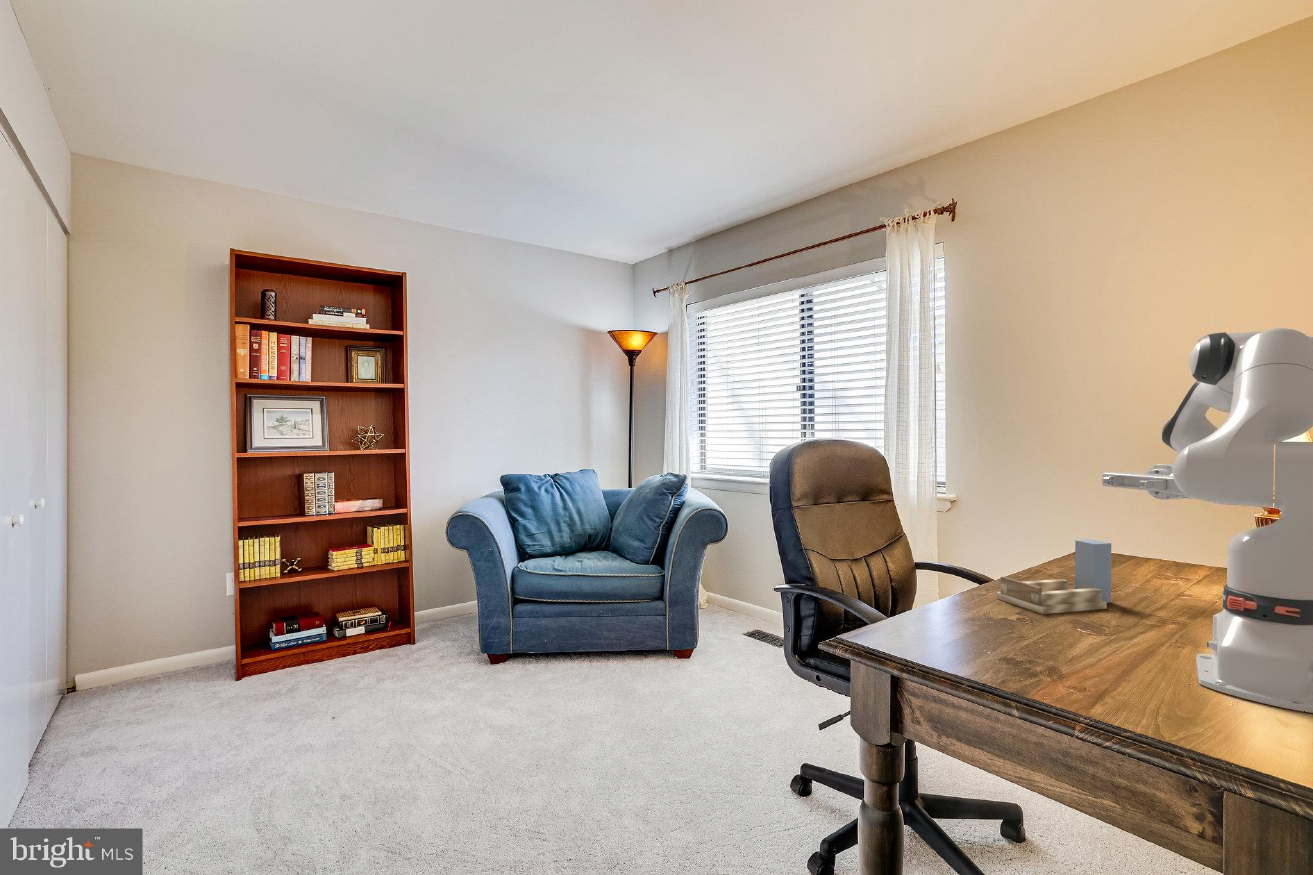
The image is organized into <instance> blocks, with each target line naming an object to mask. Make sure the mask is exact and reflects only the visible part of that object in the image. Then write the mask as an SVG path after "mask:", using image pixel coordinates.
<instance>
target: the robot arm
mask: <svg viewBox="0 0 1313 875" xmlns="http://www.w3.org/2000/svg"><path fill="white" fill-rule="evenodd" d="M1188 360H1189V361H1188V364H1189V369H1190V371H1191V376H1192V377H1193V378H1194V379H1195V380H1196V381H1195V382H1194V383H1193V384H1192V386H1191V387H1190V388H1189V390H1188V391H1187V393H1186V394H1185V396H1184V398H1183V399H1182V401H1181V403H1180V405H1179V406H1178V408H1177V409H1176V411H1175V413H1174V414H1173V415H1172V417H1171V418H1170V419H1168V421H1167V422H1166V423H1165V424H1164V426H1163V428H1162V431H1161V440H1162V442H1163V443H1164V444H1165V445H1166V446H1168V447H1169V448H1170V449H1172V450H1174V451H1175V452H1177V455H1176V457H1175V459H1174V461H1173V463H1160V464H1159V463H1158V464H1155V465H1153V466H1151V467H1149V468H1148V469H1147V471H1146V472H1145V473H1141V472H1140V473H1138V472H1126V471H1125V472H1121V471H1111V472H1110V471H1108V472H1107V471H1105V472H1103V473H1102V474H1101V483H1102V484H1101V485H1102V486H1103V487H1106V488H1118V489H1130V490H1138V491H1147V493H1148V494H1149V495H1151V496H1152V497H1154V498H1155V499H1157V500H1163V501H1167V500H1183V499H1187V500H1193V499H1194V500H1199V501H1202V502H1206V503H1207V502H1208V503H1213V504H1218V505H1226V506H1239V507H1240V506H1241V507H1255V508H1257V507H1258V508H1274V509H1275V510H1279V511H1280V514H1281V515H1280V517H1279V518H1278V519H1277V520H1276V521H1274V522H1272V523H1270V524H1266V525H1262V526H1258V527H1255V528H1251V529H1248V530H1246V531H1243V532H1240V533H1238V534H1237V535H1235V536H1234V537H1232V538H1231V540H1230V541H1229V542H1228V545H1227V555H1226V556H1227V557H1226V558H1227V560H1226V562H1227V564H1226V565H1227V567H1226V568H1227V570H1226V574H1227V576H1226V584H1225V585H1223V592H1222V595H1221V596H1222V597H1221V598H1222V608H1223V610H1221V611H1219V612H1217V613H1216V614H1213V618H1212V619H1213V620H1212V623H1213V624H1212V641H1211V640H1208V642H1206V644H1207V645H1206V647H1207V648H1208V650H1212V654H1211V653H1197V654H1196V657H1195V663H1196V670H1197V671H1196V672H1197V678H1198V683H1199V684H1200V685H1202V686H1204V687H1206V688H1209V689H1211V690H1214V691H1217V692H1220V693H1224V694H1227V695H1230V696H1233V697H1236V698H1237V697H1238V698H1242V699H1245V700H1250V701H1252V702H1257V703H1261V704H1265V705H1270V706H1275V707H1279V708H1283V709H1288V710H1293V711H1298V712H1304V711H1305V713H1312V714H1313V441H1288V440H1291V439H1293V438H1297V437H1299V436H1302V435H1303V434H1305V433H1307V432H1308V431H1309V430H1311V429H1312V428H1313V336H1309V335H1306V334H1305V333H1304V332H1301V331H1300V330H1297V329H1292V328H1287V327H1286V328H1283V327H1282V328H1279V327H1278V328H1270V329H1266V330H1263V331H1250V332H1249V331H1248V332H1233V333H1227V332H1217V333H1216V332H1214V333H1209V334H1206V335H1204V336H1202V337H1200V338H1199V339H1198V342H1197V343H1196V344H1195V346H1194V347H1193V348H1192V350H1191V352H1190V355H1189V359H1188ZM1210 408H1213V409H1215V410H1217V411H1219V412H1223V413H1227V414H1228V416H1227V418H1226V420H1225V421H1224V422H1223V423H1222V424H1221V425H1220V426H1219V427H1217V426H1216V425H1214V424H1213V423H1212V422H1211V421H1210V420H1209V419H1208V418H1207V416H1206V414H1207V412H1208V411H1209V409H1210Z"/></svg>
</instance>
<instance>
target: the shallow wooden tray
mask: <svg viewBox="0 0 1313 875" xmlns="http://www.w3.org/2000/svg"><path fill="white" fill-rule="evenodd" d="M1068 585H1069V584H1068V580H1066V579H1062V578H1057V579H1043V580H1028V581H1021V580H1016V579H1014V578H1011V577H1007V576H1000V591H998V592H996V598H995V599H997V600H1000V601H1003V602H1005V603H1008V604H1011V605H1014V606H1018V607H1021V608H1023V609H1027V610H1030V611H1032V612H1035V613H1038V614H1041V615H1046V614H1059V613H1070V612H1071V613H1072V612H1082V611H1083V612H1084V611H1094V610H1095V611H1096V610H1105V609H1108V606H1107V602H1105V601H1102V590H1101V589H1097V588H1086V589H1075V588H1074V589H1072V588H1071V589H1068V587H1069V586H1068Z"/></svg>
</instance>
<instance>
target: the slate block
mask: <svg viewBox="0 0 1313 875" xmlns="http://www.w3.org/2000/svg"><path fill="white" fill-rule="evenodd" d="M1074 548H1075V549H1074V550H1075V551H1074V555H1075V556H1074V589H1086V588H1097V589H1101V590H1102V601H1105V602H1107V603H1108V604H1109V603H1112V602H1111V598H1112V597H1111V595H1112V593H1111V592H1112V543H1111V542H1106V541H1100V540H1096V539H1079V540H1075V544H1074Z"/></svg>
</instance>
